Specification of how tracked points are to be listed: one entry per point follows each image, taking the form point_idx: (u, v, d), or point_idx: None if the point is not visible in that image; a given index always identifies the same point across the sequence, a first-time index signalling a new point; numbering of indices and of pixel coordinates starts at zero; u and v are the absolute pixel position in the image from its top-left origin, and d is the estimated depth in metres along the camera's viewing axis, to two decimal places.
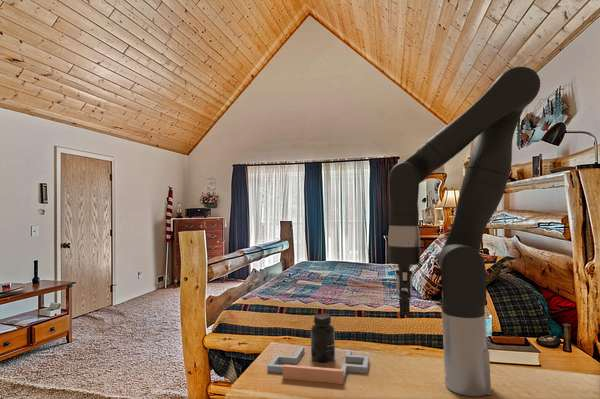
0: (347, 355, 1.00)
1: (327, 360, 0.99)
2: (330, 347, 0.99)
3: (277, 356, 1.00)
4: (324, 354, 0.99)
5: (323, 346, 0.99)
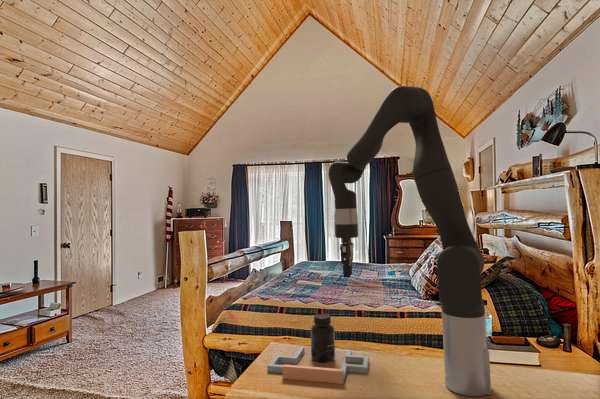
0: (347, 355, 1.00)
1: (327, 360, 0.99)
2: (330, 347, 0.99)
3: (277, 356, 1.00)
4: (324, 354, 0.99)
5: (323, 346, 0.99)
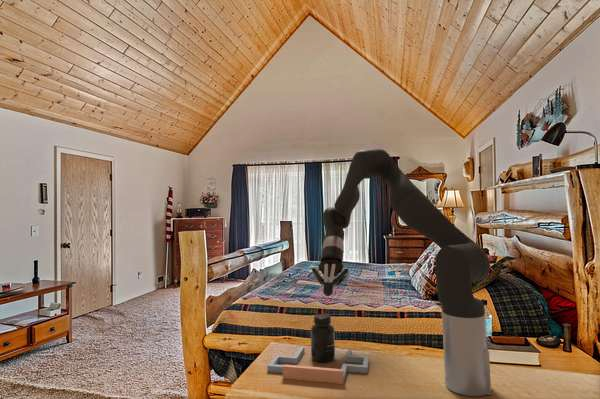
0: (347, 355, 1.00)
1: (327, 360, 0.99)
2: (330, 347, 0.99)
3: (277, 356, 1.00)
4: (324, 354, 0.99)
5: (323, 346, 0.99)
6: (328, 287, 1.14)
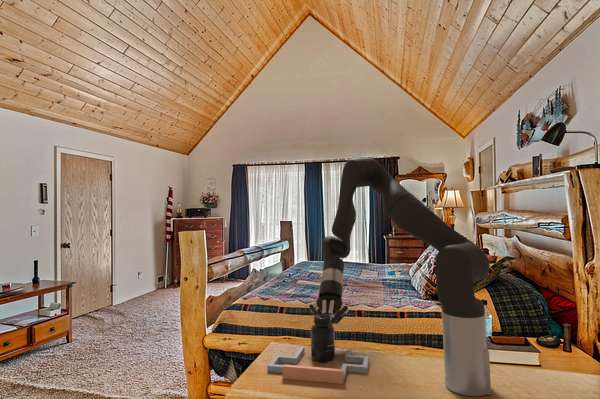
0: (347, 355, 1.00)
1: (327, 360, 0.99)
2: (330, 347, 0.99)
3: (277, 356, 1.00)
4: (324, 354, 0.98)
5: (323, 346, 0.99)
6: None
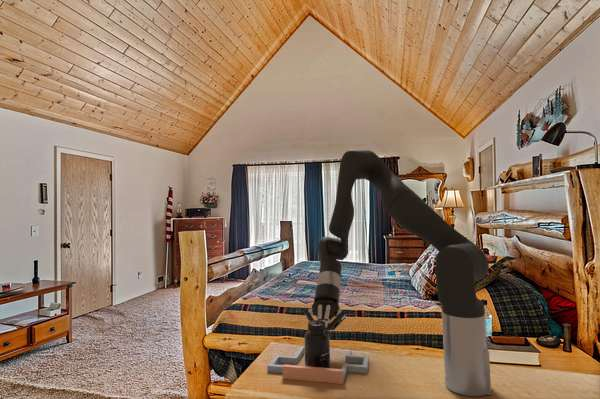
0: (347, 355, 1.00)
1: None
2: (324, 356, 0.93)
3: (277, 356, 1.00)
4: (318, 364, 0.92)
5: (317, 355, 0.93)
6: None
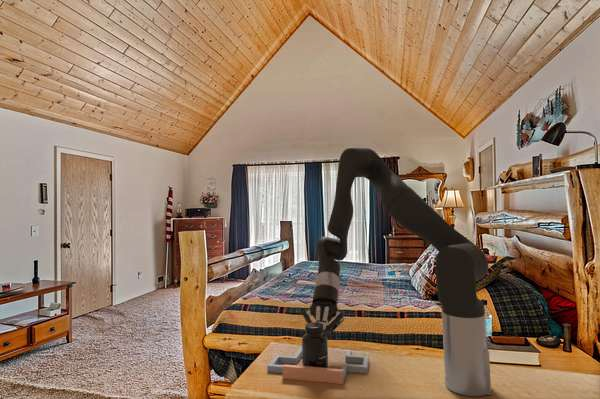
0: (347, 355, 1.00)
1: None
2: (322, 359, 0.91)
3: (277, 356, 1.00)
4: None
5: (314, 358, 0.91)
6: None
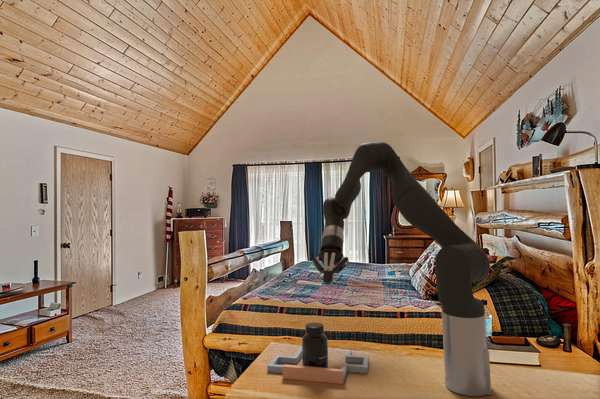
0: (347, 355, 1.00)
1: None
2: (322, 359, 0.91)
3: (277, 356, 1.00)
4: None
5: (314, 358, 0.91)
6: (328, 275, 1.13)
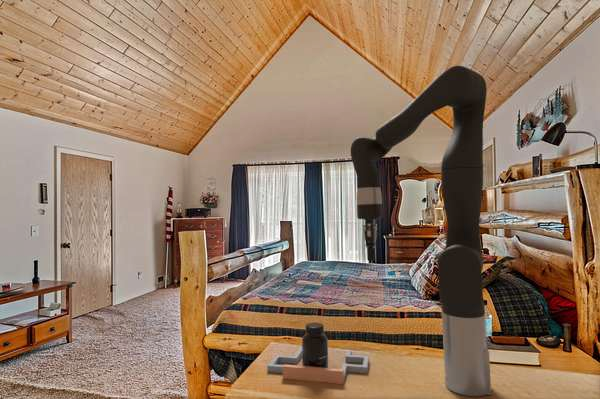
0: (347, 355, 1.00)
1: None
2: (322, 359, 0.91)
3: (277, 356, 1.00)
4: None
5: (314, 358, 0.91)
6: (374, 253, 1.07)
